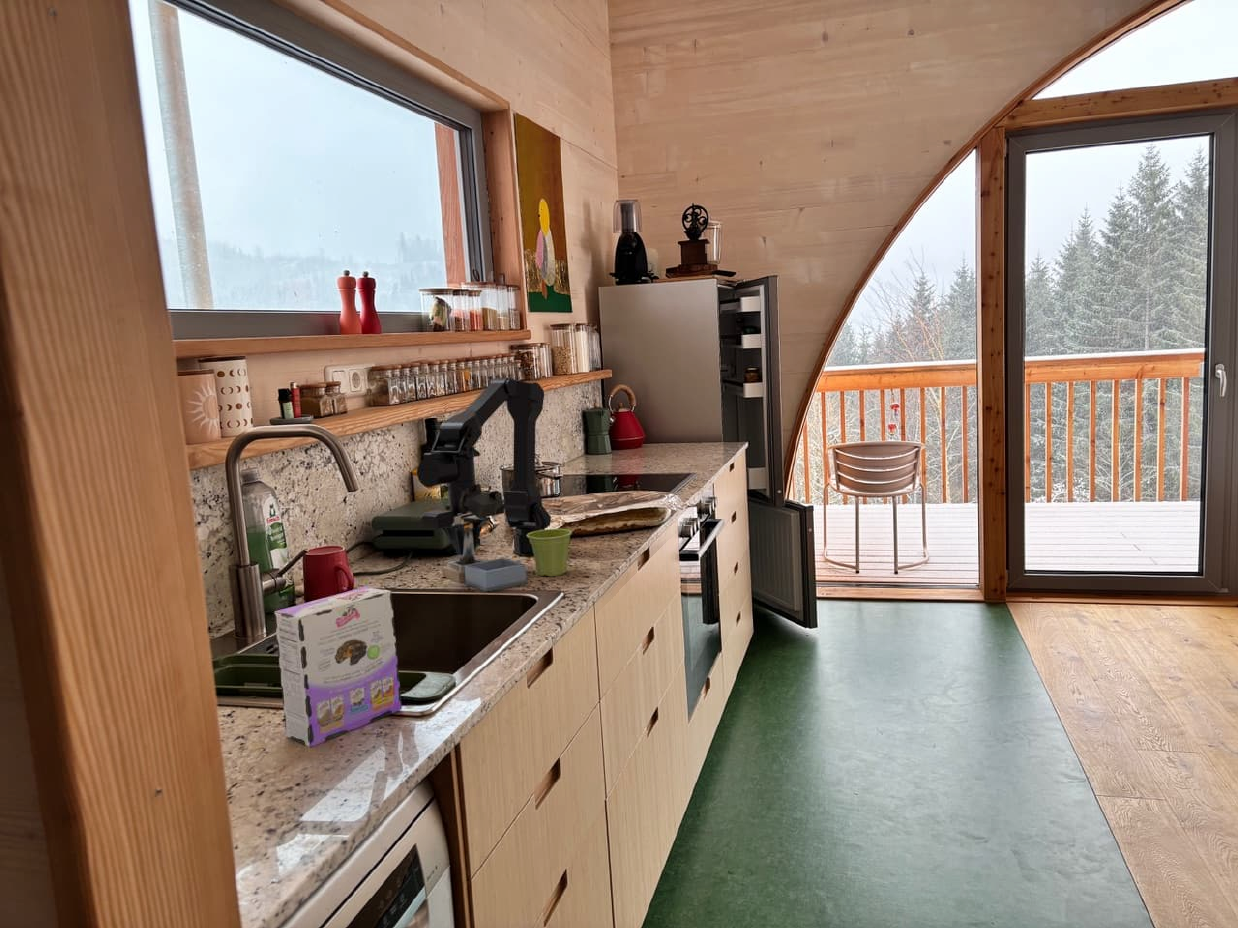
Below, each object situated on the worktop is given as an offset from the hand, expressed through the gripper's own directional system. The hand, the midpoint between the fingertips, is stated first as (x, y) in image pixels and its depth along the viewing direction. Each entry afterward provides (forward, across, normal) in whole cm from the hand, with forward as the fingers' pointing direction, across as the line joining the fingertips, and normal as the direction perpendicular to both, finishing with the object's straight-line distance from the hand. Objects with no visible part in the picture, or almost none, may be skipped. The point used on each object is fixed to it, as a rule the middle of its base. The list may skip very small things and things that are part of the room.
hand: (466, 553), depth 195 cm
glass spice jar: (+2, 0, 0) cm, 2 cm away
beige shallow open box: (+5, 0, 0) cm, 5 cm away
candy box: (+5, -63, -45) cm, 78 cm away
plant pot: (+5, +10, -15) cm, 19 cm away
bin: (+5, -2, -10) cm, 12 cm away
